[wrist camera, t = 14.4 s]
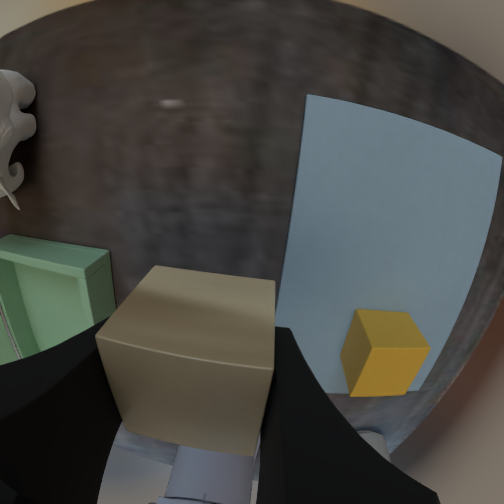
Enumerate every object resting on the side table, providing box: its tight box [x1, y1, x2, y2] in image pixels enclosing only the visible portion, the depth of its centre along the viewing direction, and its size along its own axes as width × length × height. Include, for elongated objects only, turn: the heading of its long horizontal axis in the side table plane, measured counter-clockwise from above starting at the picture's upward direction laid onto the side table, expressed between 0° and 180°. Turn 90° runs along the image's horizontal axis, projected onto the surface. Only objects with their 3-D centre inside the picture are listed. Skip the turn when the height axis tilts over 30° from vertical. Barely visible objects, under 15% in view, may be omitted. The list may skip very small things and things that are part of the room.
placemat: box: [275, 94, 502, 393], centre depth 17 cm, size 20×14×1 cm
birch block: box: [95, 265, 275, 456], centre depth 8 cm, size 4×4×4 cm
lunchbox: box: [0, 234, 116, 359], centre depth 19 cm, size 11×13×3 cm
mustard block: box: [340, 309, 431, 397], centre depth 16 cm, size 4×4×4 cm
